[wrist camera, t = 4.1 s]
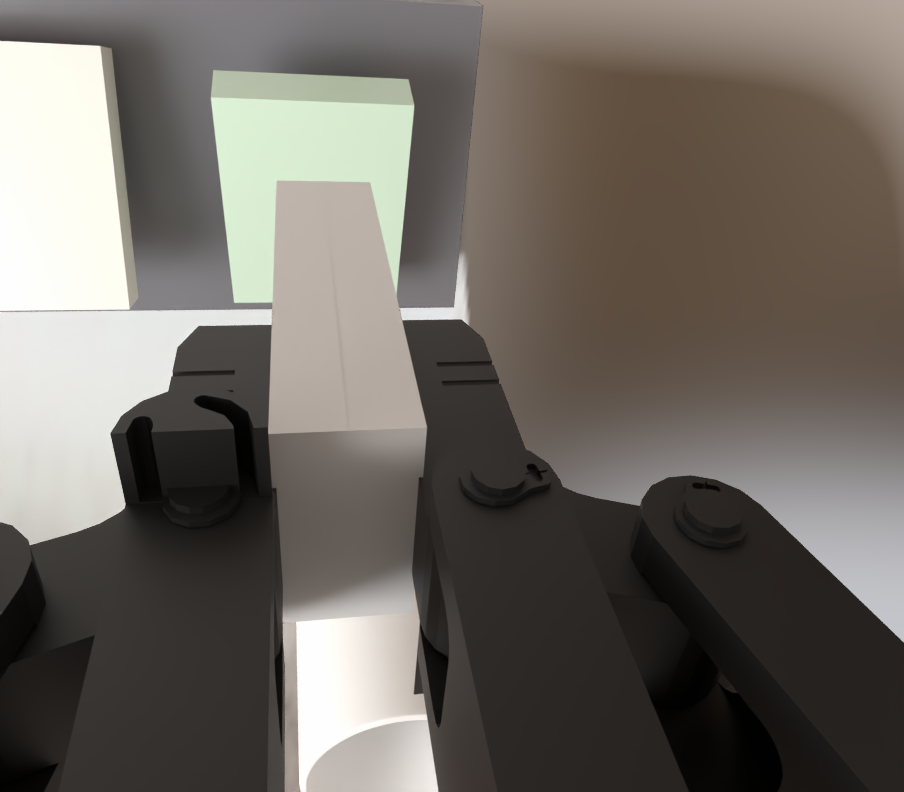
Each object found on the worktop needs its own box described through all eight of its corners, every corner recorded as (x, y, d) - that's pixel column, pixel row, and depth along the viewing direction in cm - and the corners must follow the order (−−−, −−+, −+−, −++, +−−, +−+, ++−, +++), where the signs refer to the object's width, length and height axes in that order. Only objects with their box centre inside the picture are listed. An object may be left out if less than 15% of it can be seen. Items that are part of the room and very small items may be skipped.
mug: (521, 486, 40) (596, 691, 30) (501, 597, 45) (561, 804, 35) (286, 500, 38) (288, 726, 28) (293, 615, 43) (296, 841, 33)
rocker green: (235, 274, 26) (233, 302, 25) (213, 70, 21) (210, 97, 20) (391, 273, 27) (395, 301, 26) (408, 79, 22) (414, 105, 21)
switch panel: (-52, 258, 28) (-106, 326, 24) (-152, -64, 23) (-243, -43, 19) (436, 259, 32) (458, 319, 28) (458, -20, 26) (490, 6, 22)
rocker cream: (-49, 299, 23) (-70, 311, 22) (-100, 37, 20) (-127, 34, 19) (138, 297, 24) (129, 309, 23) (111, 48, 21) (100, 46, 20)
